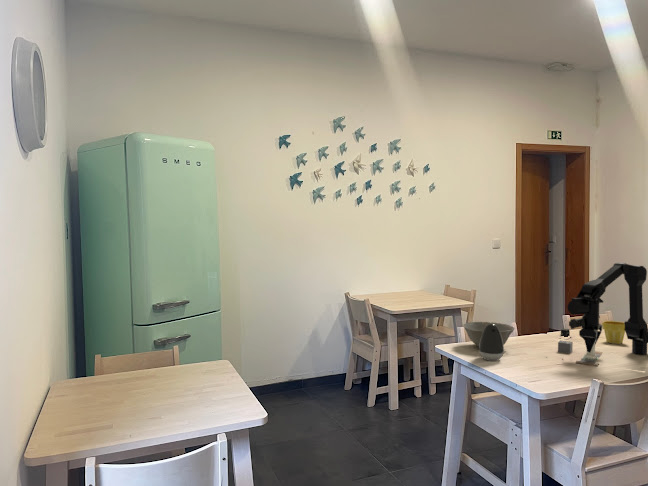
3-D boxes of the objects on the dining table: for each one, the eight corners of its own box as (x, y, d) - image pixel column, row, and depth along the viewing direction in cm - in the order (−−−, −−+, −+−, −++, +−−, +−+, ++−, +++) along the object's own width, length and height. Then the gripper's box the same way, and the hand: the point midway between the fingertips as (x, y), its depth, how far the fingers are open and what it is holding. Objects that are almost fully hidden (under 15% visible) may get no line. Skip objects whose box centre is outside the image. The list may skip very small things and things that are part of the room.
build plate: (567, 341, 249) (567, 332, 249) (552, 339, 255) (552, 330, 254) (576, 337, 258) (576, 328, 258) (562, 335, 263) (562, 326, 263)
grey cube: (560, 351, 228) (560, 340, 227) (572, 352, 225) (572, 341, 224) (557, 353, 223) (558, 342, 223) (570, 355, 221) (570, 343, 220)
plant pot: (597, 340, 248) (597, 321, 248) (613, 339, 251) (613, 320, 251) (615, 345, 238) (615, 325, 238) (631, 344, 242) (632, 324, 241)
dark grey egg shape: (482, 362, 208) (482, 325, 207) (475, 355, 218) (476, 321, 218) (507, 362, 207) (507, 326, 207) (499, 356, 218) (500, 321, 217)
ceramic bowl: (454, 347, 233) (454, 326, 232) (476, 339, 250) (477, 319, 249) (500, 356, 218) (501, 333, 217) (521, 347, 234) (521, 326, 234)
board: (586, 350, 228) (586, 349, 228) (606, 353, 223) (606, 352, 223) (575, 363, 207) (575, 361, 207) (597, 366, 202) (597, 364, 202)
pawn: (585, 356, 216) (585, 333, 216) (597, 357, 213) (598, 334, 213) (583, 358, 212) (584, 335, 212) (596, 360, 209) (596, 336, 209)
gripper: (574, 308, 224) (573, 343, 225) (566, 314, 209) (565, 351, 210) (602, 311, 218) (602, 346, 218) (596, 317, 203) (595, 355, 203)
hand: (590, 349), depth 213 cm, fingers open, 9 cm apart
